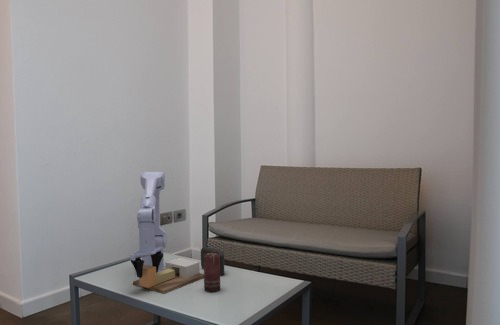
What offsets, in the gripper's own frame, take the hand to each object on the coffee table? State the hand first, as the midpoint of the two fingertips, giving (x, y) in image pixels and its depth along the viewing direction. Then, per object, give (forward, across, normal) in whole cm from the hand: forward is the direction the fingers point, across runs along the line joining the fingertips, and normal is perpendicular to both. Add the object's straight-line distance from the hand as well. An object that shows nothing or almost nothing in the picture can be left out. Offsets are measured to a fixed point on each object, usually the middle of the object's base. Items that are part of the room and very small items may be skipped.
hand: (147, 274), depth 156 cm
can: (+6, +14, -21) cm, 26 cm away
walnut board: (+6, +12, 0) cm, 13 cm away
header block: (+4, +18, 0) cm, 19 cm away
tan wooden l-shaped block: (+4, +5, 0) cm, 7 cm away
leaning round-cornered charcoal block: (+6, +30, -6) cm, 31 cm away
